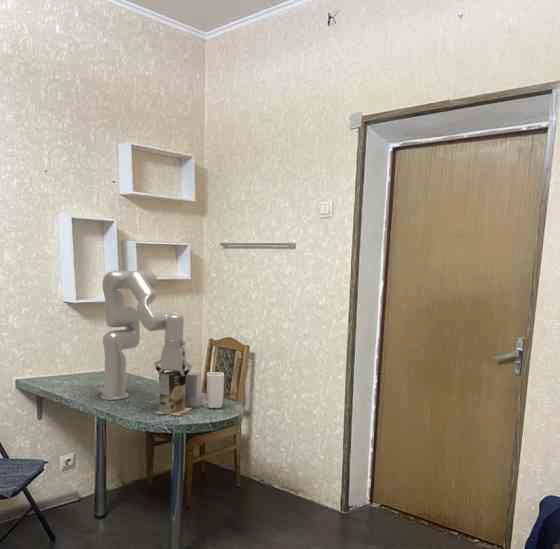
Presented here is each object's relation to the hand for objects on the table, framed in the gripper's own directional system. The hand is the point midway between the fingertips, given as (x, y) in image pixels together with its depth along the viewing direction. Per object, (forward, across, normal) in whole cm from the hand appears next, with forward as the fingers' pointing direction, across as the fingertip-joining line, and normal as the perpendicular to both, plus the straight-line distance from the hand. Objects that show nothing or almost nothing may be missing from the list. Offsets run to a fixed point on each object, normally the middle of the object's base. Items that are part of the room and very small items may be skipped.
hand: (172, 383), depth 206 cm
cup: (+12, -15, -12) cm, 23 cm away
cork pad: (+12, -1, 0) cm, 12 cm away
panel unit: (+12, -3, -10) cm, 16 cm away
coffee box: (+11, 0, 0) cm, 11 cm away
